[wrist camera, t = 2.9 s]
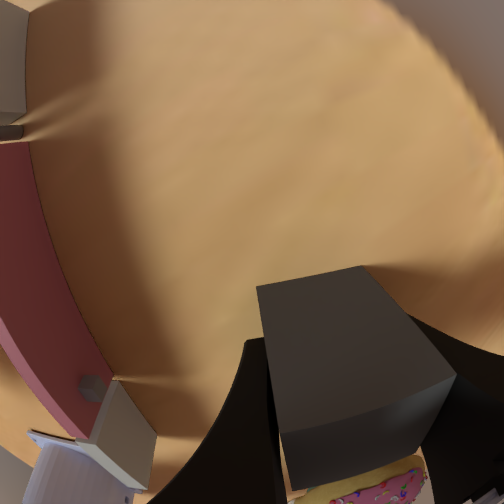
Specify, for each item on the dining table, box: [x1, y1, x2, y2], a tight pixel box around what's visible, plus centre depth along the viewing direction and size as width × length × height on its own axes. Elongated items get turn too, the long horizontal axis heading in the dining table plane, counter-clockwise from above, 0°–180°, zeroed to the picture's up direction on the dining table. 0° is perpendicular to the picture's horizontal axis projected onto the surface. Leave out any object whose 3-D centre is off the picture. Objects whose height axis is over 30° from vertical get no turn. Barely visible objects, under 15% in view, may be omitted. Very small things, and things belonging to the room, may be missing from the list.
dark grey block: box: [256, 266, 457, 491], centre depth 8 cm, size 4×4×6 cm
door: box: [0, 141, 114, 439], centre depth 7 cm, size 11×2×4 cm, turn 10°
